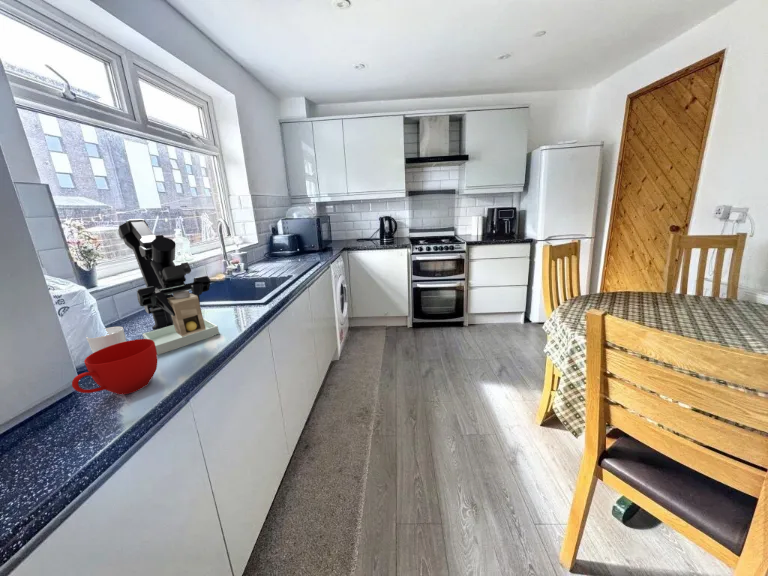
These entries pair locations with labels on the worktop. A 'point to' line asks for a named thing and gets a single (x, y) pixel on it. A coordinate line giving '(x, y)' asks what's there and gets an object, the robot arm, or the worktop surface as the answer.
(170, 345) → the tray
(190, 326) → the ball
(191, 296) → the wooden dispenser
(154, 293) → the robot arm
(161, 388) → the worktop surface
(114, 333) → the white cup
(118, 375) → the ceramic cup
